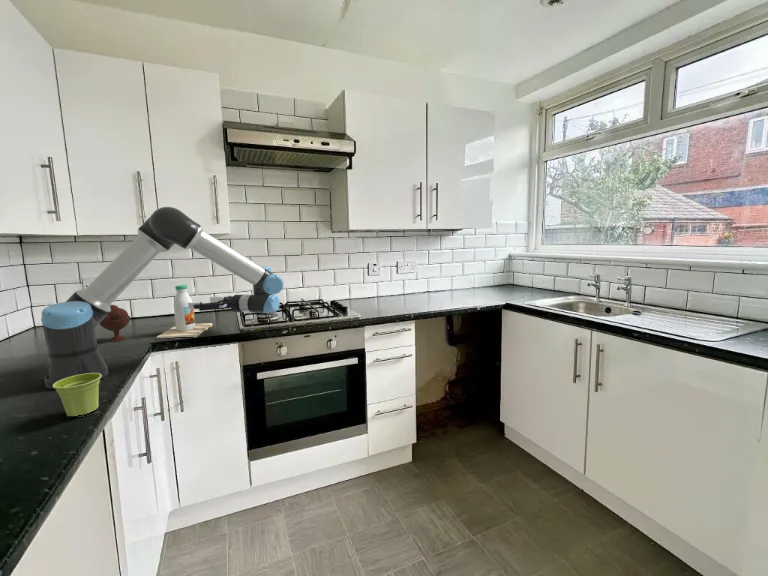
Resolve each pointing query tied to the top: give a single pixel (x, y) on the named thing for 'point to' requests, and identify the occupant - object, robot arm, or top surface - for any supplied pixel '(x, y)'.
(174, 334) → the birch board
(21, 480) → the top surface
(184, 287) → the milk bottle
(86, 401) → the plant pot
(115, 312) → the ice cream bowl
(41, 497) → the top surface
